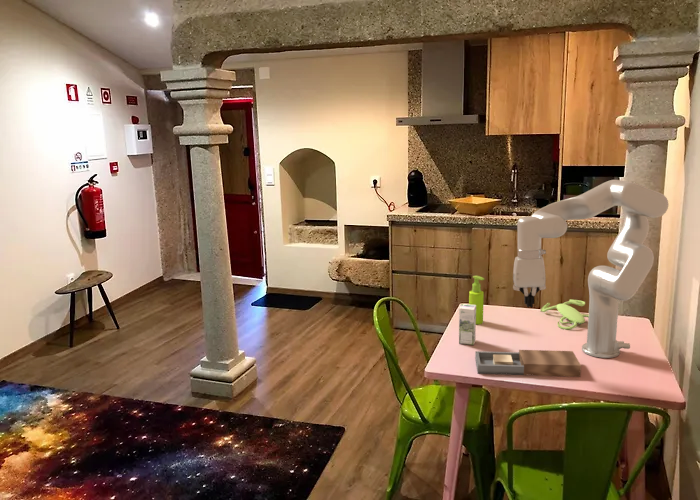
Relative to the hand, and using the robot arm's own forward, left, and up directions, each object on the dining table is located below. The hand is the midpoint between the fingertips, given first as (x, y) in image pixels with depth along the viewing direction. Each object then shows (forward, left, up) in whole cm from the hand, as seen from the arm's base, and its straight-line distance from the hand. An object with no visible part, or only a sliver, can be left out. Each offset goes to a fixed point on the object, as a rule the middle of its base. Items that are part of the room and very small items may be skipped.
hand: (529, 305), depth 198 cm
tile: (+9, +4, -18) cm, 20 cm away
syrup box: (+20, -18, -21) cm, 34 cm away
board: (-6, +4, -21) cm, 22 cm away
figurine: (-24, -48, -22) cm, 58 cm away
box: (+10, +4, -21) cm, 23 cm away
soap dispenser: (+15, -40, -21) cm, 47 cm away
